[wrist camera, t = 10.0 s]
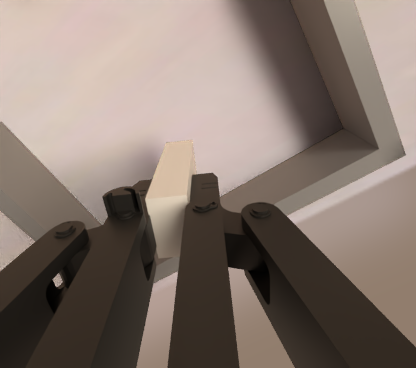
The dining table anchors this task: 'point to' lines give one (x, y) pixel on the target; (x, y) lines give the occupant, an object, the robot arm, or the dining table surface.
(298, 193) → the box
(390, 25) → the dining table surface
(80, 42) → the dining table surface
